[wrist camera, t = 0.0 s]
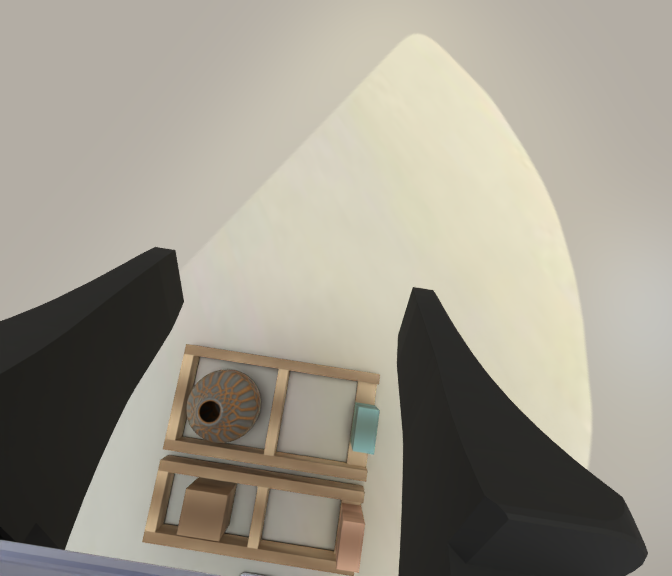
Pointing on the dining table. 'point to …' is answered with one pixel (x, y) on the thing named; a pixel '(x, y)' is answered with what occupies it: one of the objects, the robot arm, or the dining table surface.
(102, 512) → the dining table surface
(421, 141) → the dining table surface
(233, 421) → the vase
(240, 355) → the tray
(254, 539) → the frame
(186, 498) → the walnut cube
